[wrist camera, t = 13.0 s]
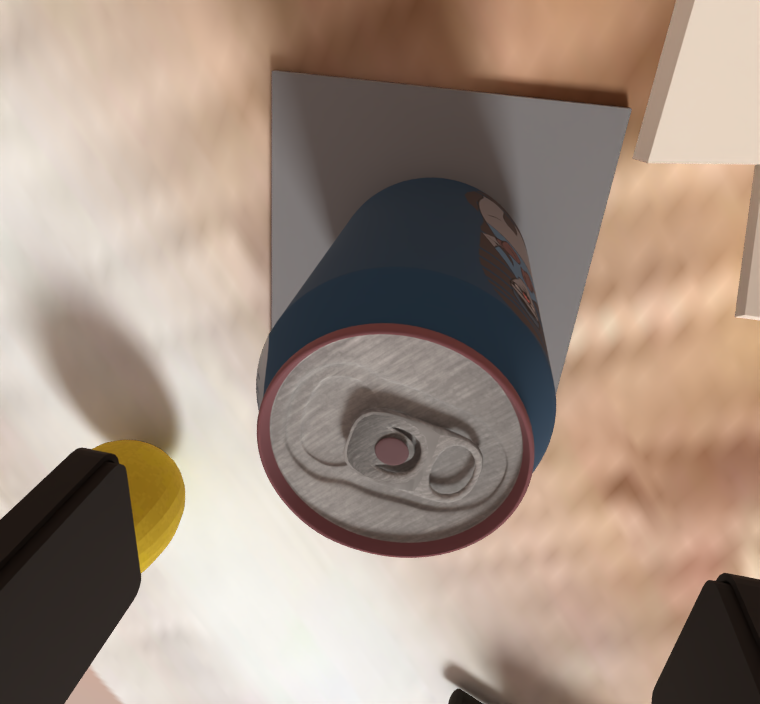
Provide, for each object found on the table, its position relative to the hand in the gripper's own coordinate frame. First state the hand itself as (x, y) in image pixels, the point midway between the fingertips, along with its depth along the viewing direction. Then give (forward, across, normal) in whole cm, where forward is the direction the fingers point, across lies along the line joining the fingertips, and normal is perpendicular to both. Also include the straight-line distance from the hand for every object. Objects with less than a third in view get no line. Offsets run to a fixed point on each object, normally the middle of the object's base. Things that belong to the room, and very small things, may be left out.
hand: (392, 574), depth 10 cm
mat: (+15, +1, 0) cm, 15 cm away
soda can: (+15, +1, 0) cm, 15 cm away
